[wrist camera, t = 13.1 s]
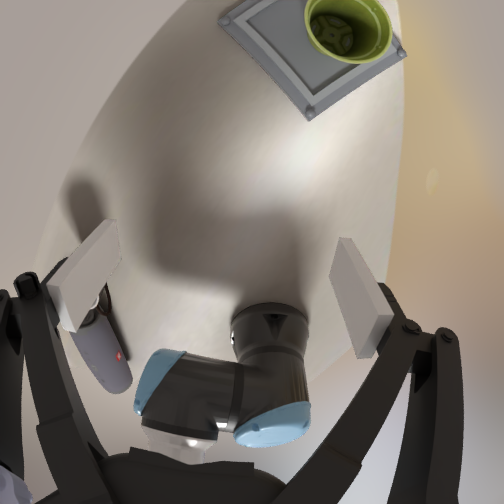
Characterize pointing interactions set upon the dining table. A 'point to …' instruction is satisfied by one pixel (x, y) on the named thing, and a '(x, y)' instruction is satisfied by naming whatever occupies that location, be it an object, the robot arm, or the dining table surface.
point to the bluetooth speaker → (102, 352)
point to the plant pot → (349, 29)
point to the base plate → (299, 54)
